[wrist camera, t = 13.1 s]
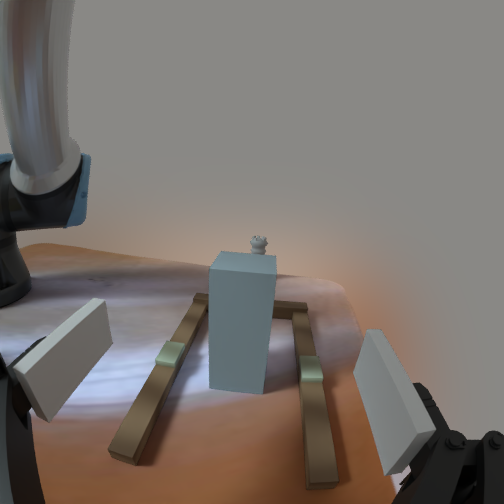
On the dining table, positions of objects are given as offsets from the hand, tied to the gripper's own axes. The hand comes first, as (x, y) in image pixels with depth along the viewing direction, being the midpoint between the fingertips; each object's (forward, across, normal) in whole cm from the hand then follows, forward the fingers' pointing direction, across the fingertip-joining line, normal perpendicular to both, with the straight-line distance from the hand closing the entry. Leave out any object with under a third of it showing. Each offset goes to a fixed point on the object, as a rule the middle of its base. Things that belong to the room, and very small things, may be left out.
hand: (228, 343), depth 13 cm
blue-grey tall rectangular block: (+11, 0, -12) cm, 16 cm away
